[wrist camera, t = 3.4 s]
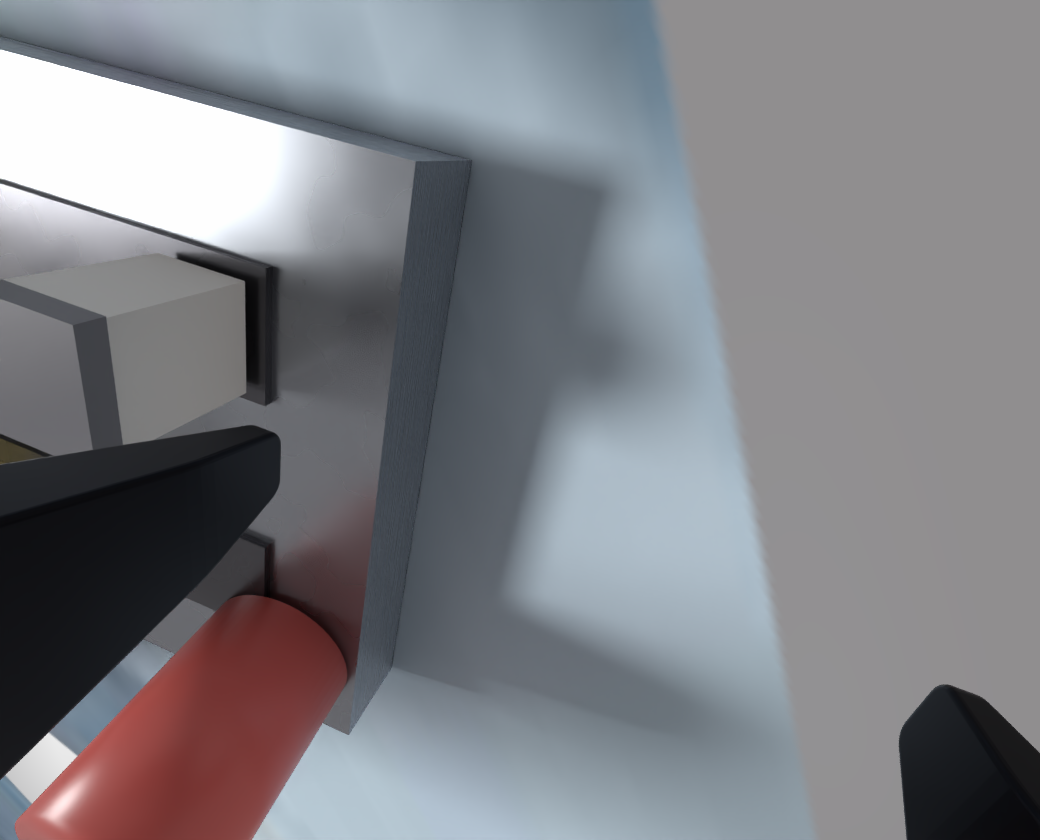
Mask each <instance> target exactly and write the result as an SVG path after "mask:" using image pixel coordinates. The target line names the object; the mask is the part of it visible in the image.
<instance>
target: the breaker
mask: <svg viewBox="0 0 1040 840" xmlns="http://www.w3.org/2000/svg"><path fill="white" fill-rule="evenodd" d="M245 393H246V327H245V281H243V280H240V279H237V278H233V277H230V276H227V275H224V274H221V273H218V272H215V271H212V270H209V269H206V268H203V267H200V266H197V265H194V264H191V263H187V262H184V261H181V260H178V259H175V258H172V257H169V256H166V255H163V254H160V253H154V254H148V255H142V256H137V257H131V258H125V259H119V260H114V261H108V262H102V263H96V264H90V265H85V266H79V267H73V268H67V269H62V270H56V271H50V272H44V273H38V274H33V275H27V276H21V277H15V278H10V279H4V280H2V279H0V434H3V435H5V436H7V437H10V438H12V439H15V440H17V441H19V442H22V443H24V444H27V445H29V446H31V447H34V448H36V449H39V450H41V451H43V452H46V453H48V454H51V455H53V456H56V455H62V454H68V453H75V452H81V451H87V450H94V449H100V448H106V447H113V446H119V445H125V444H132V443H138V442H144V441H151V440H154V439H156V438H158V437H160V436H162V435H164V434H166V433H168V432H170V431H172V430H174V429H176V428H178V427H180V426H182V425H184V424H186V423H188V422H190V421H192V420H194V419H196V418H198V417H200V416H202V415H204V414H206V413H208V412H210V411H212V410H214V409H216V408H218V407H220V406H222V405H224V404H226V403H228V402H229V401H231V400H233V399H235V398H237V397H239V396H241V395H243V394H245Z"/></svg>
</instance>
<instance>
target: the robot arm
mask: <svg viewBox="0 0 1040 840" xmlns="http://www.w3.org/2000/svg"><path fill="white" fill-rule="evenodd" d="M280 470H281V441H280V438H279V436H278V435H277V434H276V433H274V432H272V431H269V430H266V429H264V428H261V427H258V426H255V425H246V426H239V427H233V428H227V429H220V430H214V431H208V432H201V433H195V434H189V435H182V436H176V437H170V438H163V439H157V440H151V441H144V442H138V443H132V444H125V445H119V446H113V447H106V448H100V449H94V450H87V451H81V452H75V453H68V454H62V455H56V456H49V457H43V458H37V459H30V460H24V461H18V462H11V463H5V464H0V780H1V779H2V778H3V777H4V776H5V775H6V774H7V773H8V772H9V771H10V770H11V769H12V768H13V767H14V766H15V765H16V764H17V763H18V762H19V761H20V760H21V759H22V758H23V757H24V756H25V755H26V754H27V753H28V752H29V751H30V750H31V749H32V748H33V747H34V746H35V745H36V744H37V743H38V742H39V741H40V740H41V739H42V738H43V737H44V736H45V735H46V734H47V733H48V732H50V731H51V730H52V729H53V728H54V727H55V726H56V725H57V724H58V723H59V722H60V721H61V720H62V719H63V718H64V717H65V716H66V715H67V714H68V713H69V712H70V711H71V710H72V709H73V708H74V707H75V706H76V705H77V704H78V703H79V702H80V701H81V700H82V699H83V698H84V697H85V696H86V695H87V694H88V693H89V692H90V691H91V690H92V689H93V688H94V687H95V686H96V685H97V684H98V683H99V682H100V681H101V680H102V679H103V678H104V677H105V676H106V675H107V674H109V673H110V672H111V671H112V670H113V669H114V668H115V667H116V666H117V665H118V664H119V663H120V662H121V661H122V660H123V659H124V658H125V657H126V656H127V655H128V654H129V653H130V652H131V651H132V650H133V649H134V648H135V647H136V646H137V645H138V644H139V643H140V642H141V641H142V640H143V639H144V638H145V637H146V636H147V635H148V634H149V633H150V632H151V631H152V630H153V629H154V628H155V627H156V626H157V625H158V624H159V623H160V622H161V621H162V620H163V619H164V618H165V617H166V616H167V615H169V614H170V613H171V612H172V611H173V610H174V609H175V608H176V607H177V606H178V605H179V604H180V603H181V602H182V601H183V600H184V599H185V598H186V597H187V596H188V595H189V594H190V593H191V592H192V591H193V590H194V589H195V588H196V587H197V586H198V585H199V584H200V583H201V582H202V581H203V580H204V579H205V578H206V577H207V575H208V574H209V573H210V572H211V571H212V570H213V569H214V568H215V566H216V565H217V564H218V563H219V562H220V561H221V559H222V558H223V557H224V556H225V555H226V553H227V552H228V551H229V550H230V549H231V547H232V546H233V545H234V544H235V543H236V541H237V540H238V539H239V538H240V537H241V535H242V534H243V533H244V532H245V531H246V529H247V528H248V527H249V526H250V525H251V523H252V522H253V521H254V520H255V519H256V517H257V516H258V515H259V514H260V513H261V511H262V510H263V509H264V508H265V507H266V505H267V504H268V503H269V502H270V501H271V499H272V498H273V497H274V495H275V494H276V492H277V490H278V487H279V484H280ZM899 752H900V765H901V777H902V789H903V802H904V813H905V825H906V837H907V840H1040V753H1039V752H1038V751H1037V750H1036V749H1035V748H1034V747H1033V746H1032V745H1031V744H1030V743H1029V742H1028V741H1027V740H1026V739H1025V738H1024V737H1023V736H1022V735H1021V734H1020V733H1019V732H1018V731H1017V730H1016V729H1015V728H1014V727H1013V726H1012V725H1011V724H1010V723H1009V722H1008V721H1007V720H1006V719H1005V718H1004V717H1003V716H1002V715H1001V714H1000V713H999V712H998V711H997V710H996V709H994V708H993V707H992V706H991V705H990V704H989V703H988V702H987V701H986V700H985V699H983V698H982V697H980V696H978V695H975V694H973V693H970V692H967V691H965V690H962V689H959V688H956V687H954V686H951V685H939V686H937V687H935V688H934V689H933V690H932V691H931V692H930V694H929V695H928V696H927V697H926V698H925V700H924V701H923V702H922V703H921V704H920V705H919V707H918V708H917V709H916V710H915V711H914V713H913V714H912V715H911V716H910V717H909V719H908V720H907V721H906V722H905V724H904V725H903V727H902V730H901V732H900V738H899Z"/></svg>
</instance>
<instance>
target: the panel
mask: <svg viewBox="0 0 1040 840" xmlns="http://www.w3.org/2000/svg"><path fill="white" fill-rule="evenodd" d="M471 162H472V160H468V159H464V158H461V157H457V156H453V155H449V154H445V153H442V152H438V151H434V150H430V149H426V148H423V147H419V146H415V145H411V144H407V143H404V142H400V141H396V140H392V139H388V138H385V137H381V136H377V135H373V134H369V133H366V132H362V131H358V130H354V129H350V128H347V127H343V126H339V125H335V124H331V123H328V122H324V121H320V120H316V119H312V118H309V117H305V116H301V115H297V114H293V113H290V112H286V111H282V110H278V109H274V108H271V107H267V106H263V105H259V104H255V103H252V102H248V101H244V100H240V99H236V98H233V97H229V96H225V95H221V94H217V93H214V92H210V91H206V90H202V89H198V88H195V87H191V86H187V85H183V84H179V83H175V82H172V81H168V80H164V79H160V78H156V77H153V76H149V75H145V74H141V73H137V72H134V71H130V70H126V69H122V68H118V67H115V66H111V65H107V64H103V63H99V62H96V61H92V60H88V59H84V58H80V57H77V56H73V55H69V54H65V53H61V52H58V51H54V50H50V49H46V48H42V47H39V46H35V45H31V44H27V43H23V42H20V41H16V40H12V39H8V38H4V37H1V36H0V279H2V280H4V279H10V278H15V277H21V276H27V275H33V274H38V273H44V272H50V271H56V270H62V269H67V268H73V267H79V266H85V265H90V264H96V263H102V262H108V261H114V260H119V259H125V258H131V257H137V256H142V255H148V254H154V253H160V254H163V255H166V256H169V257H172V258H175V259H178V260H181V261H184V262H187V263H191V264H194V265H197V266H200V267H203V268H206V269H209V270H212V271H215V272H218V273H221V274H224V275H227V276H230V277H233V278H237V279H240V280H243V281H245V327H246V393H245V394H243V395H241V396H239V397H237V398H235V399H233V400H231V401H229V402H228V403H226V404H224V405H222V406H220V407H218V408H216V409H214V410H212V411H210V412H208V413H206V414H204V415H202V416H200V417H198V418H196V419H194V420H192V421H190V422H188V423H186V424H184V425H182V426H180V427H178V428H176V429H174V430H172V431H170V432H168V433H166V434H164V435H162V436H160V437H158V438H156V439H154V440H157V439H163V438H170V437H176V436H182V435H189V434H195V433H201V432H208V431H214V430H220V429H227V428H233V427H239V426H246V425H255V426H258V427H261V428H264V429H266V430H269V431H272V432H274V433H276V434H277V435H278V436H279V438H280V441H281V470H280V484H279V487H278V490H277V492H276V494H275V495H274V497H273V498H272V499H271V501H270V502H269V503H268V504H267V505H266V507H265V508H264V509H263V510H262V511H261V513H260V514H259V515H258V516H257V517H256V519H255V520H254V521H253V522H252V523H251V525H250V526H249V527H248V528H247V529H246V531H245V532H244V533H243V534H242V535H241V537H240V538H239V539H238V540H237V541H236V543H235V544H234V545H233V546H232V547H231V549H230V550H229V551H228V552H227V553H226V555H225V556H224V557H223V558H222V559H221V561H220V562H219V563H218V564H217V565H216V566H215V568H214V569H213V570H212V571H211V572H210V573H209V574H208V575H207V577H206V578H205V579H204V580H203V581H202V582H201V583H200V584H199V585H198V586H197V587H196V588H195V589H194V590H193V591H192V592H191V593H190V594H189V595H188V596H187V597H186V598H185V599H184V600H183V601H182V602H181V603H180V604H179V605H178V606H177V607H176V608H175V609H174V610H173V611H172V612H171V613H170V614H169V615H167V616H166V617H165V618H164V619H163V620H162V621H161V622H160V623H159V624H158V625H157V626H156V627H155V628H154V629H153V630H152V631H151V632H150V633H149V634H148V635H147V636H146V637H145V638H144V640H146V641H149V642H151V643H153V644H155V645H157V646H159V647H161V648H164V649H166V650H168V651H170V652H172V653H174V654H176V653H177V652H178V651H179V650H180V648H181V647H182V646H183V645H184V644H185V643H186V642H187V641H188V640H189V639H190V638H191V637H192V636H193V635H194V634H195V633H196V632H197V631H198V630H199V629H200V627H201V626H202V625H203V624H204V623H205V622H206V621H207V620H208V619H209V618H210V617H211V616H212V615H213V614H214V613H215V612H216V611H217V610H218V609H219V608H220V607H221V605H222V604H224V603H225V602H226V601H227V600H229V599H231V598H234V597H237V596H242V595H256V596H263V597H268V598H272V599H275V600H278V601H280V602H283V603H285V604H287V605H290V606H291V607H293V608H295V609H297V610H299V611H300V612H302V613H304V614H305V615H307V616H308V617H309V618H311V619H312V620H313V621H315V622H316V623H317V624H318V625H319V626H320V627H322V628H323V629H324V630H325V631H326V633H327V634H328V635H329V636H330V637H331V638H332V639H333V641H334V642H335V643H336V645H337V646H338V648H339V649H340V651H341V653H342V655H343V657H344V660H345V663H346V667H347V681H346V684H345V687H344V689H343V690H342V692H341V694H340V695H339V697H338V698H337V700H336V702H335V703H334V705H333V707H332V708H331V710H330V712H329V713H328V715H327V717H326V718H325V720H324V722H323V723H324V724H326V725H328V726H330V727H332V728H335V729H337V730H339V731H341V732H343V733H345V734H347V735H349V734H350V732H351V731H352V729H353V727H354V726H355V724H356V723H357V721H358V720H359V718H360V716H361V715H362V713H363V712H364V710H365V709H366V707H367V705H368V704H369V702H370V701H371V699H372V698H373V696H374V694H375V693H376V691H377V690H378V688H379V687H380V685H381V683H382V682H383V680H384V679H385V677H386V676H387V674H388V672H389V671H390V669H391V666H392V659H393V653H394V647H395V640H396V634H397V628H398V621H399V615H400V609H401V603H402V596H403V590H404V584H405V577H406V571H407V565H408V558H409V552H410V546H411V540H412V533H413V527H414V521H415V514H416V508H417V502H418V496H419V489H420V483H421V477H422V470H423V464H424V458H425V451H426V445H427V439H428V433H429V426H430V420H431V414H432V407H433V401H434V395H435V388H436V382H437V376H438V370H439V363H440V357H441V351H442V344H443V338H444V332H445V326H446V319H447V313H448V307H449V300H450V294H451V288H452V281H453V275H454V269H455V263H456V256H457V250H458V244H459V237H460V231H461V225H462V218H463V212H464V206H465V200H466V193H467V187H468V181H469V174H470V168H471ZM49 456H53V455H51V454H48V453H46V452H43V451H41V450H39V449H36V448H34V447H31V446H29V445H27V444H24V443H22V442H19V441H17V440H15V439H12V438H10V437H7V436H5V435H3V434H0V464H5V463H11V462H18V461H24V460H30V459H37V458H43V457H49Z"/></svg>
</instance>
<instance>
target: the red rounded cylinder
mask: <svg viewBox="0 0 1040 840" xmlns="http://www.w3.org/2000/svg"><path fill="white" fill-rule="evenodd" d="M346 681H347V667H346V663H345V660H344V657H343V655H342V653H341V651H340V649H339V648H338V646H337V645H336V643H335V642H334V641H333V639H332V638H331V637H330V636H329V635H328V634H327V633H326V631H325V630H324V629H323V628H322V627H320V626H319V625H318V624H317V623H316V622H315V621H313V620H312V619H311V618H309V617H308V616H307V615H305V614H304V613H302V612H300V611H299V610H297V609H295V608H293V607H291V606H290V605H287V604H285V603H283V602H280V601H278V600H275V599H272V598H268V597H263V596H256V595H242V596H237V597H234V598H231V599H229V600H227V601H226V602H225V603H224V604H222V605H221V607H220V608H219V609H218V610H217V611H216V612H215V613H214V614H213V615H212V616H211V617H210V618H209V619H208V620H207V621H206V622H205V623H204V624H203V625H202V626H201V627H200V629H199V630H198V631H197V632H196V633H195V634H194V635H193V636H192V637H191V638H190V639H189V640H188V641H187V642H186V643H185V644H184V645H183V646H182V647H181V648H180V650H179V651H178V652H177V653H176V654H175V655H174V656H173V657H172V658H171V659H170V660H169V661H168V662H167V663H166V664H165V665H164V666H163V667H162V668H161V669H160V670H159V672H158V673H157V674H156V675H155V676H154V677H153V678H152V679H151V680H150V681H149V682H148V683H147V684H146V685H145V686H144V687H143V688H142V689H141V690H140V691H139V692H138V694H137V695H136V696H135V697H134V698H133V699H132V700H131V701H130V702H129V703H128V704H127V705H126V706H125V707H124V708H123V709H122V710H121V711H120V712H119V713H118V714H117V716H116V717H115V718H114V719H113V720H112V721H111V722H110V723H109V724H108V725H107V726H106V727H105V728H104V729H103V730H102V731H101V732H100V733H99V734H98V735H97V736H96V738H95V739H94V740H93V741H92V742H91V743H90V744H89V745H88V746H87V747H86V748H85V749H84V750H83V751H82V752H81V753H80V754H79V755H78V756H77V757H76V759H75V760H74V761H73V762H72V763H71V764H70V765H69V766H68V767H67V768H66V769H65V770H64V771H63V772H62V773H61V774H60V775H59V776H58V777H57V779H55V781H54V782H53V783H52V784H51V785H50V786H49V787H48V788H47V789H46V790H45V791H44V792H43V793H42V794H41V795H40V796H39V797H38V798H37V799H36V800H35V801H34V803H33V804H32V805H31V806H30V807H29V808H28V809H27V810H26V811H25V812H24V813H23V814H22V815H21V816H20V817H19V818H18V819H17V821H16V823H15V831H16V834H17V836H18V839H19V840H252V838H253V837H254V835H255V834H256V832H257V830H258V829H259V827H260V825H261V824H262V822H263V820H264V819H265V817H266V815H267V814H268V812H269V810H270V809H271V807H272V806H273V804H274V802H275V801H276V799H277V797H278V796H279V794H280V792H281V791H282V789H283V787H284V786H285V784H286V782H287V781H288V779H289V778H290V776H291V774H292V773H293V771H294V769H295V768H296V766H297V764H298V763H299V761H300V759H301V758H302V756H303V754H304V753H305V751H306V750H307V748H308V746H309V745H310V743H311V741H312V740H313V738H314V736H315V735H316V733H317V731H318V730H319V728H320V726H321V725H322V723H323V722H324V720H325V718H326V717H327V715H328V713H329V712H330V710H331V708H332V707H333V705H334V703H335V702H336V700H337V698H338V697H339V695H340V694H341V692H342V690H343V689H344V687H345V684H346Z"/></svg>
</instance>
